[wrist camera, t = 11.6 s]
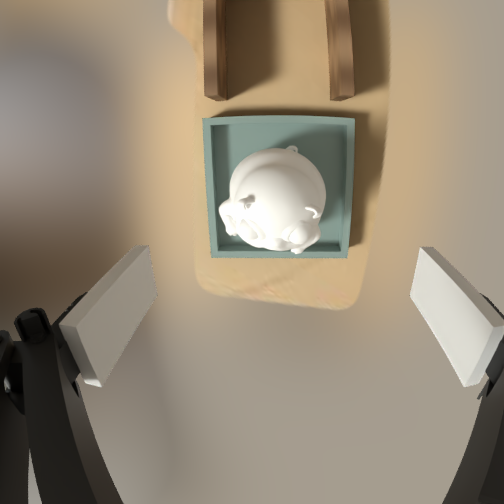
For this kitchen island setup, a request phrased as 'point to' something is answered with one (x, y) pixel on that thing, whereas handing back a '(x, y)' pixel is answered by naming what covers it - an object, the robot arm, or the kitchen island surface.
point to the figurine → (275, 200)
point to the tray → (282, 136)
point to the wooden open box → (337, 49)
